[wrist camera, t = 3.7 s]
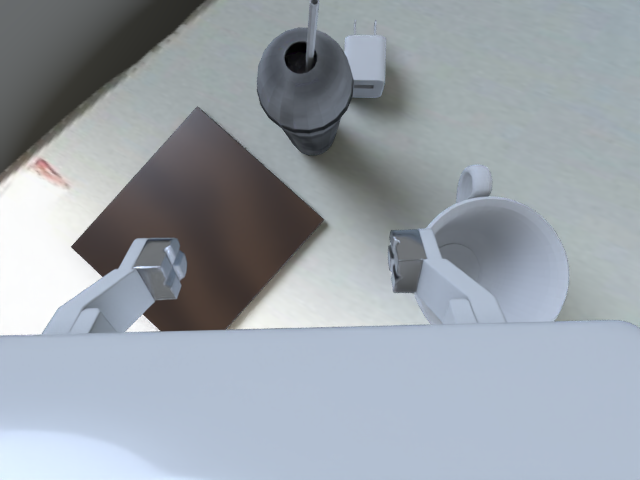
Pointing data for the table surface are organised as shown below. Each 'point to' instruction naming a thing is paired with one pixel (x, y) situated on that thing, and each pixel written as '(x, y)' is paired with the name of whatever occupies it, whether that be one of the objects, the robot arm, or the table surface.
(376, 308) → the table surface
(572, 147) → the table surface
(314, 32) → the beverage cup
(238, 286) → the mat
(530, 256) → the teacup
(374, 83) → the usb wall charger
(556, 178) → the table surface
